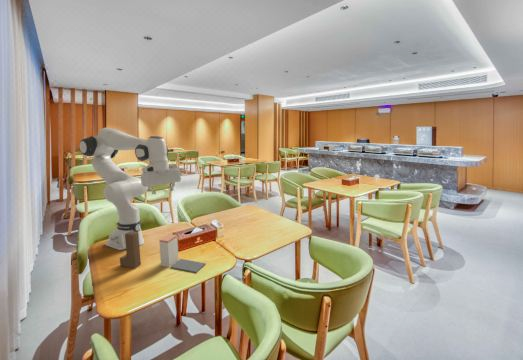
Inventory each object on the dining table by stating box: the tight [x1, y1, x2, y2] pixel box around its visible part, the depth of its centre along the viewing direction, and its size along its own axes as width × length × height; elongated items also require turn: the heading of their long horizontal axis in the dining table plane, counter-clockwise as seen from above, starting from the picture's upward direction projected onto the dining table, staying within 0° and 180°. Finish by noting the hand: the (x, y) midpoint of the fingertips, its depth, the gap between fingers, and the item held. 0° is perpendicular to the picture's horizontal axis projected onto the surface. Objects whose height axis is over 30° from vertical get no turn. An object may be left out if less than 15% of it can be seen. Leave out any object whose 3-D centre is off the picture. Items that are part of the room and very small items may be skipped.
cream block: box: [159, 233, 180, 268], centre depth 142 cm, size 5×8×14 cm, turn 162°
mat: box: [169, 258, 206, 274], centre depth 140 cm, size 15×9×1 cm, turn 72°
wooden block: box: [119, 231, 142, 269], centre depth 139 cm, size 9×4×18 cm, turn 74°
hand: (163, 192), depth 148 cm, fingers open, 8 cm apart
